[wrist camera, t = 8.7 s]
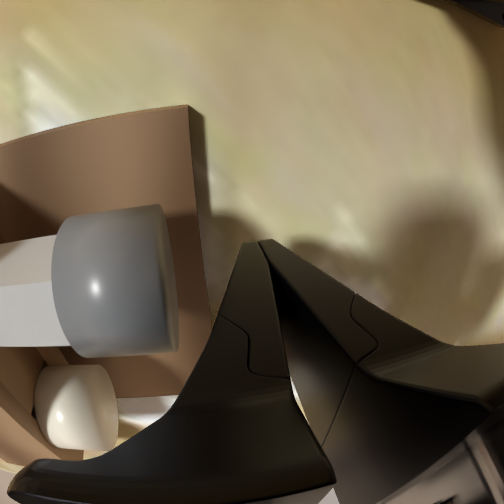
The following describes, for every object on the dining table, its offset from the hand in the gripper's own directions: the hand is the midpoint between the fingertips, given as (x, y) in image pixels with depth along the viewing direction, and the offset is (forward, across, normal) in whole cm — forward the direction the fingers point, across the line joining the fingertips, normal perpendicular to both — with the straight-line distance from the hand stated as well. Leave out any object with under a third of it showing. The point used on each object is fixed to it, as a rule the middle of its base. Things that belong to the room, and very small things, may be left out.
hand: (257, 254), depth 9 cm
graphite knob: (+1, +7, 0) cm, 7 cm away
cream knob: (+1, +11, +6) cm, 13 cm away
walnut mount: (+3, +8, +3) cm, 9 cm away
